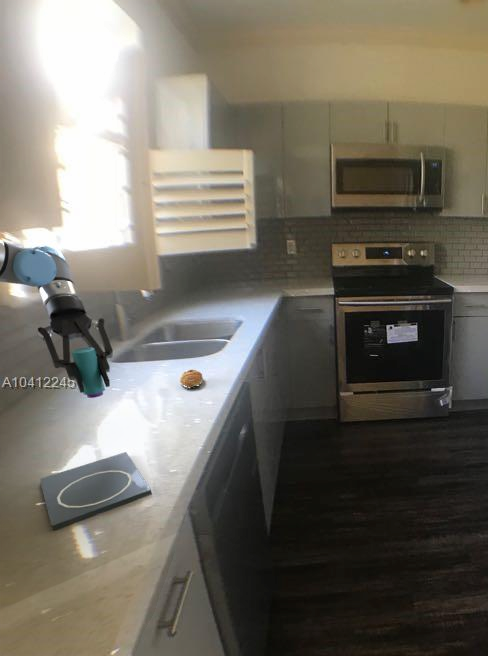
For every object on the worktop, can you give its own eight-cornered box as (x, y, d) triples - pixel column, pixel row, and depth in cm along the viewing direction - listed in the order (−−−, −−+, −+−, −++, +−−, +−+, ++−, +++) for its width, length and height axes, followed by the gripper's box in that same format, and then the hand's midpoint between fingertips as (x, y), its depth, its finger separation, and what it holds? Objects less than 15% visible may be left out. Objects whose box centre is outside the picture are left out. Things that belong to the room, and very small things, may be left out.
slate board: (41, 482, 93) (39, 478, 93) (127, 455, 103) (125, 451, 102) (53, 530, 79) (51, 525, 78) (151, 493, 88) (150, 489, 88)
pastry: (205, 387, 141) (203, 376, 140) (182, 391, 139) (179, 380, 137) (202, 378, 149) (200, 367, 148) (180, 382, 147) (177, 371, 145)
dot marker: (82, 395, 107) (69, 350, 103) (103, 390, 110) (92, 346, 106) (86, 400, 104) (73, 354, 100) (107, 395, 106) (96, 350, 103)
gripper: (15, 299, 101) (46, 388, 95) (104, 289, 111) (137, 369, 105) (20, 319, 106) (50, 405, 100) (105, 308, 117) (136, 384, 111)
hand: (95, 386), depth 103 cm, fingers closed on dot marker, 4 cm apart
